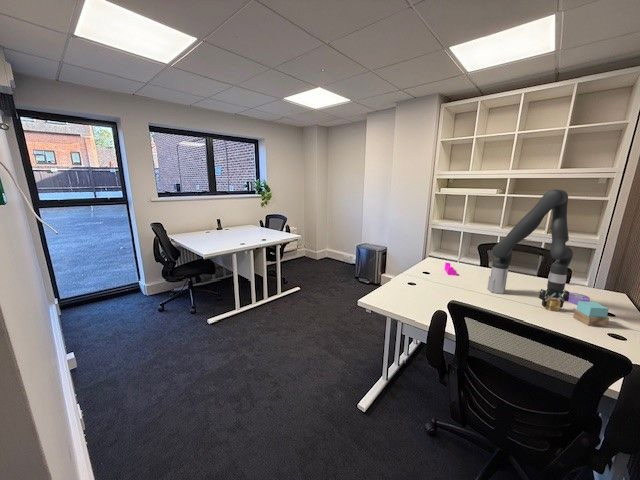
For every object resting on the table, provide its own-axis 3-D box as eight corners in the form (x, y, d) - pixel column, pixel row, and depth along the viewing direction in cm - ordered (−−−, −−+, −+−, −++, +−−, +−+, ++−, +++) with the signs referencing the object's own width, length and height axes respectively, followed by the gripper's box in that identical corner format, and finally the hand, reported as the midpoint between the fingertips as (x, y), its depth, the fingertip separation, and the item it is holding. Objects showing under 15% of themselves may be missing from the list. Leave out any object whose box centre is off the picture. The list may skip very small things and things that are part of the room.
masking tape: (568, 303, 162) (570, 297, 162) (559, 296, 173) (560, 291, 172) (593, 306, 158) (594, 300, 158) (582, 299, 169) (583, 293, 168)
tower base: (587, 326, 136) (589, 317, 135) (573, 317, 145) (574, 309, 144) (606, 327, 135) (609, 318, 134) (590, 318, 144) (592, 310, 143)
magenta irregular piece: (456, 277, 210) (457, 268, 208) (447, 276, 211) (448, 267, 210) (452, 271, 224) (453, 263, 222) (444, 270, 225) (445, 262, 224)
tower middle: (589, 316, 136) (591, 307, 135) (576, 309, 144) (578, 301, 143) (606, 317, 135) (608, 308, 134) (592, 310, 142) (594, 302, 142)
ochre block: (549, 310, 152) (551, 301, 151) (543, 307, 157) (545, 297, 156) (559, 311, 152) (560, 301, 151) (552, 307, 157) (554, 298, 156)
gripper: (548, 282, 148) (543, 309, 151) (575, 283, 147) (570, 310, 150) (538, 278, 156) (534, 303, 159) (565, 279, 154) (560, 304, 157)
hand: (552, 306), depth 154 cm, fingers open, 8 cm apart
